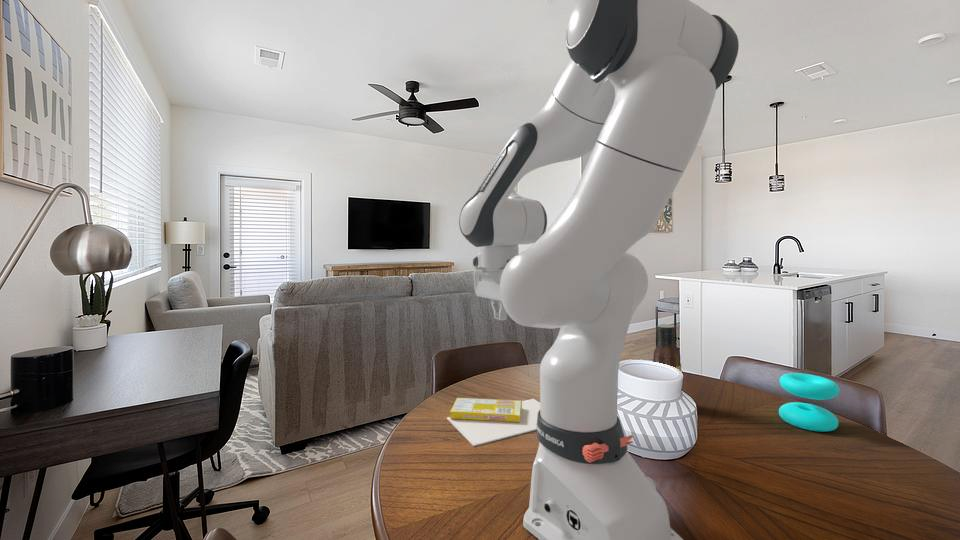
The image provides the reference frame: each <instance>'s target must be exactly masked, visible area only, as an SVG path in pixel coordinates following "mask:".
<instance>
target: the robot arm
mask: <svg viewBox="0 0 960 540" xmlns="http://www.w3.org/2000/svg"><path fill="white" fill-rule="evenodd" d="M565 45H566V50H567V52H568V54H569V60H568V62H567V64H566V66H565V67H564V69H563V70H562V73H561V74H560V76H559V78H558V79H557V82H556V84H555V86H554V88H553V90H552V92H551V94H550V96H549V97H548V99H547V100H546V102H545V103H544V105H543V106H542V107H541V108H540V110H539V111H538V112H536V114H535V115H534V116H533V117H532V118H531V119H530V120H529V121H527V122H526V123H524V124H523V125H520V126H519V127H518V128H517V129H516V130H514V132H513V133H512V134H511V136H510V137H509V139H508V140H507V141H506V143H505V144H504V146H503V147H502V149H501V151H499V154H498V155H497V157H496V159H495V160H494V162H493V163H492V165H491V167H490V169H488V171H487V173H486V174H485V176H484V178H483V179H482V180H481V182H480V185H479V186H478V187H477V189H476V190H475V192H474V193H473V194H472V195H471V196H470V197H469V199H467V201H466V202H465V203H464V204H463V206H462V208H461V209H460V213H459V217H458V218H459V219H458V222H459V223H458V224H459V225H458V226H459V230H460V233H461V234H462V236H463V238H465V240H466V241H468V242H469V243H470V244H471V245H472V246H473V247H475V248H479V250H480V251H479V252H478V254H476V255H475V256H474V257H473V258H472V260H471V266H472V267H473V268H474V269H473V285H474V286H473V289H474V290H473V291H474V292H475V295H476V297H480V298H483V299H484V298H485V299H488V300H490V303H491V308H492V310H493V317H494V319H495V320H498V321H506V320H507V319H508V317H510V319H511V320H512V321H514V322H515V323H516V324H518V325H520V326H523V327H529V328H536V329H549V330H551V329H553V330H554V329H558V328H559V331H558V335H557V337H556V339H555V341H554V343H552V346H551V347H550V348H549V349H548V350H547V351H546V352H545V354H544V355H543V357H542V359H541V362H540V366H539V402H540V410H539V412H538V418H537V430H536V433H537V434H536V435H537V439H538V442H539V444H538V448H537V450H536V451H537V452H536V455H535V458H534V461H533V465H532V469H531V470H532V471H531V480H530V491H529V502H528V503H529V505H528V508H527V510H526V511H525V513H524V515H523V521H522V524H523V525H522V526H523V528H525V530H526V531H528V532H529V533H530V534H532V535H533V536H534V537H535V538H537V540H684V539H683V538H682V536H680V535H679V534H678V533H677V532H676V531H675V530H674V529H673V528H672V527H671V522H670V515H669V511H668V508H667V504H666V502H665V499H663V497H662V495H661V494H660V493H659V492H658V491H657V487H656V483H655V482H654V480H653V478H652V477H649V476H646V475H645V473H644V472H643V470H642V469H641V467H640V466H639V465H638V464H637V462H636V461H635V460H634V458H633V457H632V455H631V454H630V453H629V451H628V445H631V444H633V443H634V441H631V439H633V438H634V436H633V434H631V435H628V436H625V433H624V428H623V427H622V423H621V420H620V418H619V416H618V391H619V390H618V386H619V383H618V382H619V369H620V363H621V362H620V361H621V356H622V352H623V349H624V346H625V345H624V343H625V341H626V338H627V334H628V331H629V327H630V324H631V321H632V318H633V315H634V313H635V312H636V310H637V309H638V307H639V305H640V304H641V303H642V302H643V300H644V298H645V297H646V295H647V292H648V288H649V278H648V273H647V271H646V269H645V266H644V265H643V263H642V262H641V260H640V259H638V258H637V257H636V256H634V255H632V254H630V253H628V252H627V251H628V250H630V248H632V247H633V246H634V245H635V244H636V243H637V242H639V241H640V240H641V239H643V238H645V237H646V236H647V235H649V233H650V232H652V230H653V229H654V228H655V226H656V224H657V223H658V221H659V220H660V218H661V215H662V213H663V212H664V210H665V208H666V206H667V204H668V202H669V200H670V199H671V196H672V194H673V192H674V191H675V189H676V188H677V186H678V184H679V182H680V179H681V178H682V177H683V174H684V172H685V170H686V169H687V167H688V165H689V162H691V158H692V157H693V155H694V152H695V150H696V148H697V146H698V144H699V141H700V139H701V137H702V134H703V131H704V129H705V126H706V125H707V121H708V118H709V115H710V113H711V109H712V106H713V103H714V100H715V97H716V94H717V93H716V92H717V90H718V89H719V88H720V86H721V85H722V84H723V83H724V82H725V81H726V79H727V78H728V76H729V75H730V73H731V71H732V70H733V67H734V65H735V63H736V60H737V58H738V57H737V56H738V53H739V37H738V35H737V32H736V31H735V30H734V29H733V28H732V26H731V25H730V24H729V23H728V22H727V21H726V20H725V19H723V18H722V17H721V16H720V15H716V14H711V13H710V12H708V11H706V10H705V9H703V8H702V7H701V6H699V5H698V4H696V3H694V2H692V1H691V0H575V3H574V5H573V7H572V9H571V12H570V14H569V18H568V21H567V25H566V30H565ZM590 152H591V154H590V155H589V158H588V160H587V163H586V165H585V167H584V169H583V171H582V174H581V177H580V178H579V181H578V183H577V184H576V187H575V189H574V192H573V193H572V195H571V197H570V199H569V201H568V202H566V204H565V206H564V208H563V209H562V210H561V212H560V213H559V215H557V217H556V218H555V220H554V221H553V222H552V223H551V224H550V226H549V227H548V228H547V226H548V215H547V212H546V210H545V207H544V205H542V203H541V202H540V201H539V200H535V199H531V198H528V197H524V196H522V195H520V194H519V193H517V192H516V190H515V188H516V187H517V185H518V184H519V182H520V181H521V180H522V178H524V177H525V176H526V175H528V174H529V173H531V172H532V171H533V172H534V170H536V169H540V168H542V167H546V166H548V165H549V166H550V165H552V164H557V163H562V162H566V161H573V160H575V159H579V158H581V157H583V156H586V155H587V154H589V153H590ZM530 244H532V245H530ZM519 245H530V246H529V247H527V248H526V249H525V250H523V251H522V252H520V253H519V249H520V248H519Z"/></svg>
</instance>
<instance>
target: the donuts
mask: <svg viewBox="0 0 960 540" xmlns="http://www.w3.org/2000/svg"><path fill="white" fill-rule="evenodd" d="M779 384H780V387H781V388H783V389H784V390H785V391H786V392H788V393H790V394H791V395H794V396H797V397H799V398H805V399H810V400H818V401H819V400H820V401H824V400H825V401H826V400H831V399H835V398H836V397H837V396H839V394H840V387H839V385H838V384H837V383H836V382H835V381H833V380H831V379H829V378H826V377H823V376H819V375H814V374H809V373H799V372H790V373H789V372H788V373H785V374H783V375H781V376H780V377H779ZM778 415H779V416H780V418H781V419H782V420H783V421H784V422H786V423H787V424H790V425H791V426H794V427H796V428H799V429H804V430H807V431H813V432H819V433H820V432H826V433H827V432H832V431H835V430H836V429H837V428H838V427H839V420H838V417H837V416H836V415H835V414H834V413H833V412H831V411H830V410H828V409H826V408H824V407H822V406H819V405H817V404H812V403H805V402H798V401H797V402H796V401H794V402H787V403H784V404H783V405H780V407H779V409H778Z"/></svg>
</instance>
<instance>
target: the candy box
mask: <svg viewBox="0 0 960 540" xmlns="http://www.w3.org/2000/svg"><path fill="white" fill-rule="evenodd" d="M522 401H523V400H514V399H513V400H512V399H495V398H492V399H491V398H472V397H470V398H469V397H456V398H455V401H454V403H453V405H452V407H451V409H450V411H449V417H450V419H470V420H489V421H507V422H520V420H521V410H522Z"/></svg>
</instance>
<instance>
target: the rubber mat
mask: <svg viewBox="0 0 960 540" xmlns="http://www.w3.org/2000/svg"><path fill="white" fill-rule="evenodd" d="M521 401H522V410H521V420H520V422H507V421H489V420H470V419H450V416H447V417H446V420H447V421H448V422H449V423H450V424H451V425H452V426H453V427H454V428H455V429H456V430H457V431H458V432H459V433H460V434H461V436H463V437H464V438H465V439H466V440H467V441H468V442H469V444H470V445H471V446H472V447H477V446H481V445H485V444H488V443H492V442H497V441H500V440H504V439H507V438H511V437H515V436H519V435H524V434H528V433H531V432H535V431H537V418H538V412H539V410H540V401H538V400H536V399H535V398H530V399H526V400H525V399H524V400H521Z"/></svg>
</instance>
